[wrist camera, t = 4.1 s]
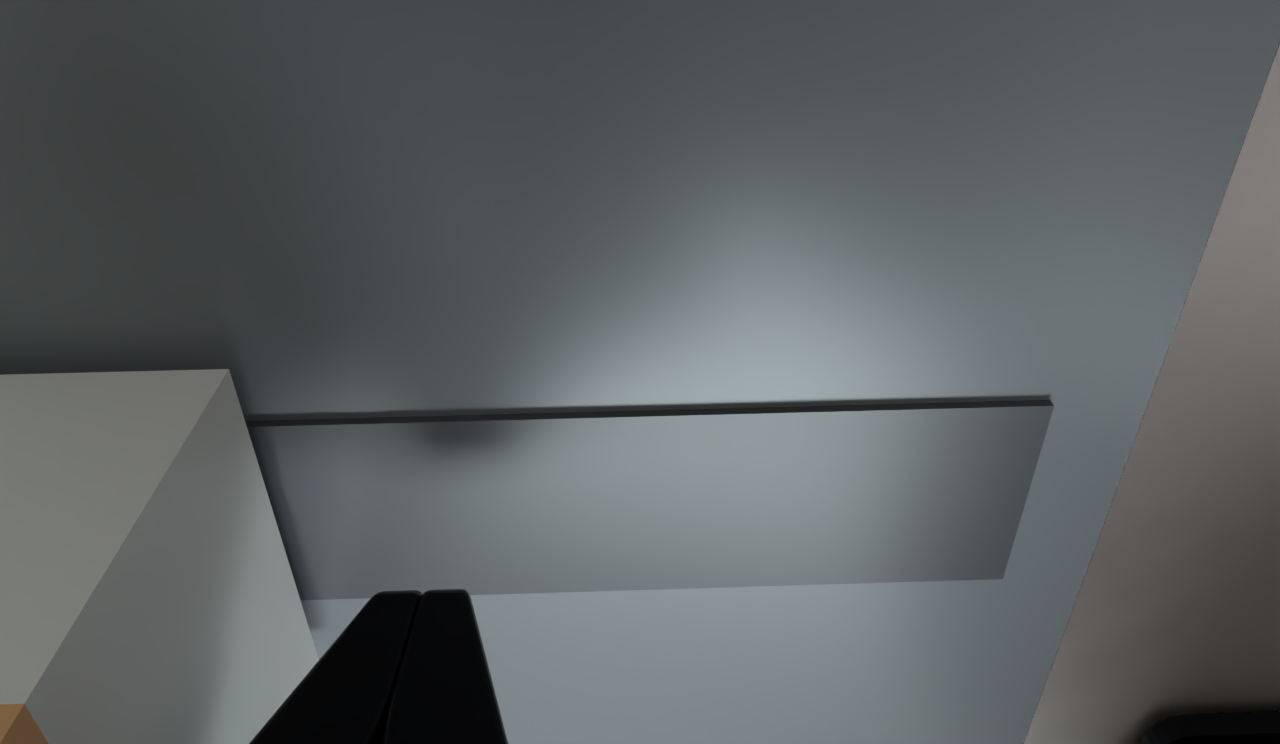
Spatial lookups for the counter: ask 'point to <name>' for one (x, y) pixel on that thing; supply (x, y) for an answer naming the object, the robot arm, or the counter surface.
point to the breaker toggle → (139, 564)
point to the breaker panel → (651, 316)
